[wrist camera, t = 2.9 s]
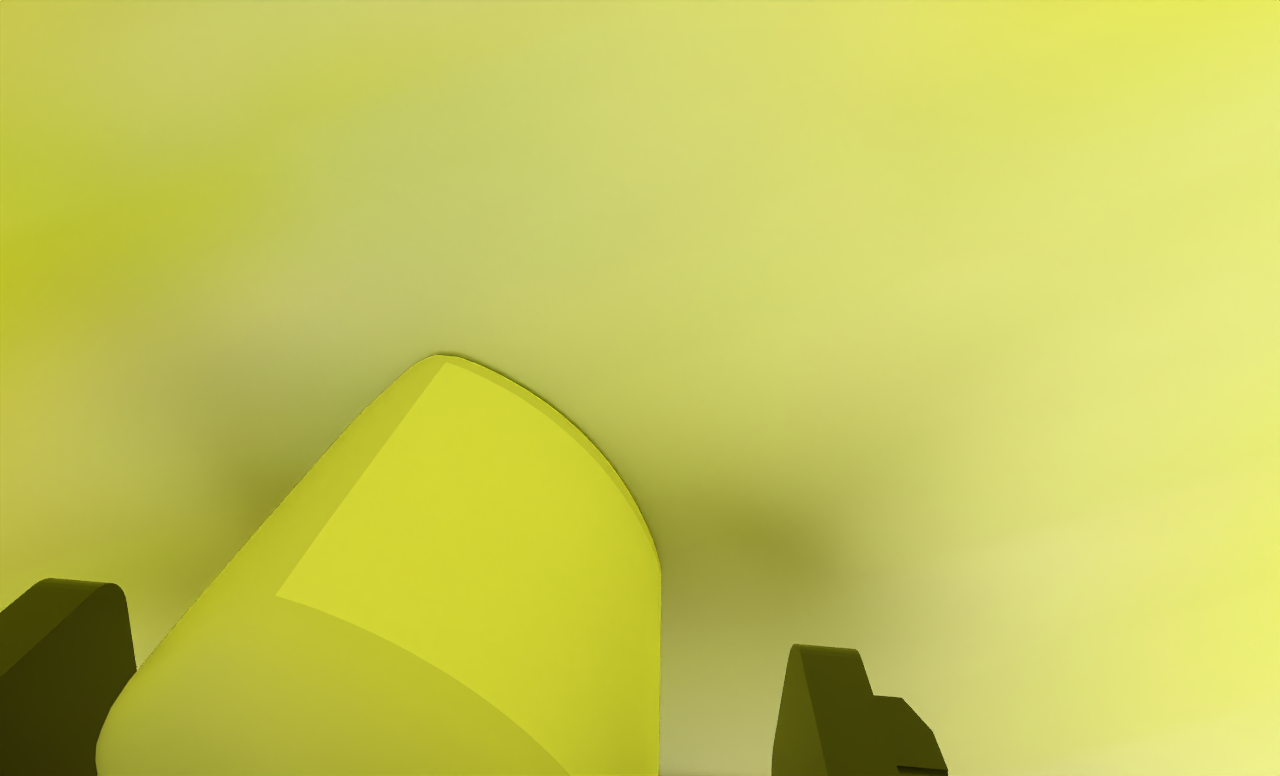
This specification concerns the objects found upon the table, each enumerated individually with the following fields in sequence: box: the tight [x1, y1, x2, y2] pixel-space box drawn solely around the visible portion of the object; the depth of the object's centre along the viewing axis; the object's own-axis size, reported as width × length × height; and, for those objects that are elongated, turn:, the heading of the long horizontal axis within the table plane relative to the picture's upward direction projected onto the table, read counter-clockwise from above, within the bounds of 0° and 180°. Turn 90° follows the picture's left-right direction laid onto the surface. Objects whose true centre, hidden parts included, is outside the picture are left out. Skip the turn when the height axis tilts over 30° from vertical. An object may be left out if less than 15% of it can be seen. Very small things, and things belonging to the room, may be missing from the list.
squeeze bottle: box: [95, 355, 661, 776], centre depth 9 cm, size 4×6×12 cm
